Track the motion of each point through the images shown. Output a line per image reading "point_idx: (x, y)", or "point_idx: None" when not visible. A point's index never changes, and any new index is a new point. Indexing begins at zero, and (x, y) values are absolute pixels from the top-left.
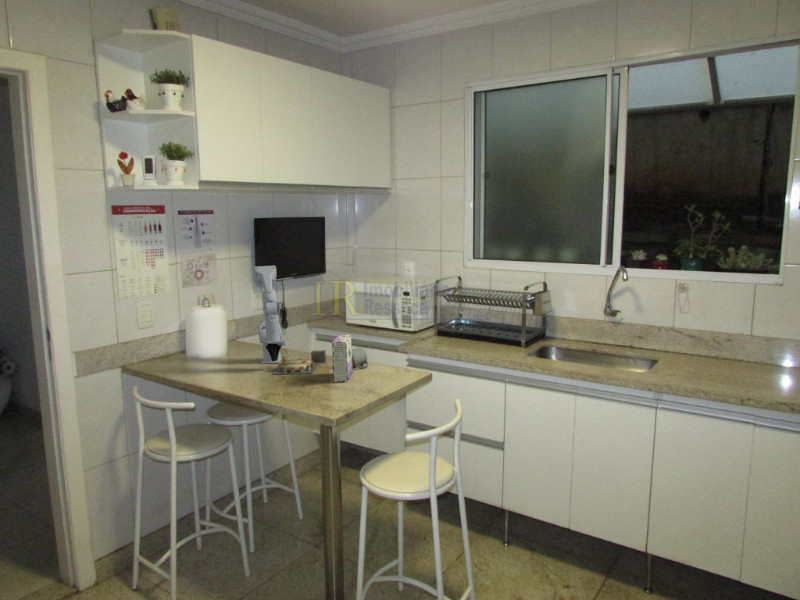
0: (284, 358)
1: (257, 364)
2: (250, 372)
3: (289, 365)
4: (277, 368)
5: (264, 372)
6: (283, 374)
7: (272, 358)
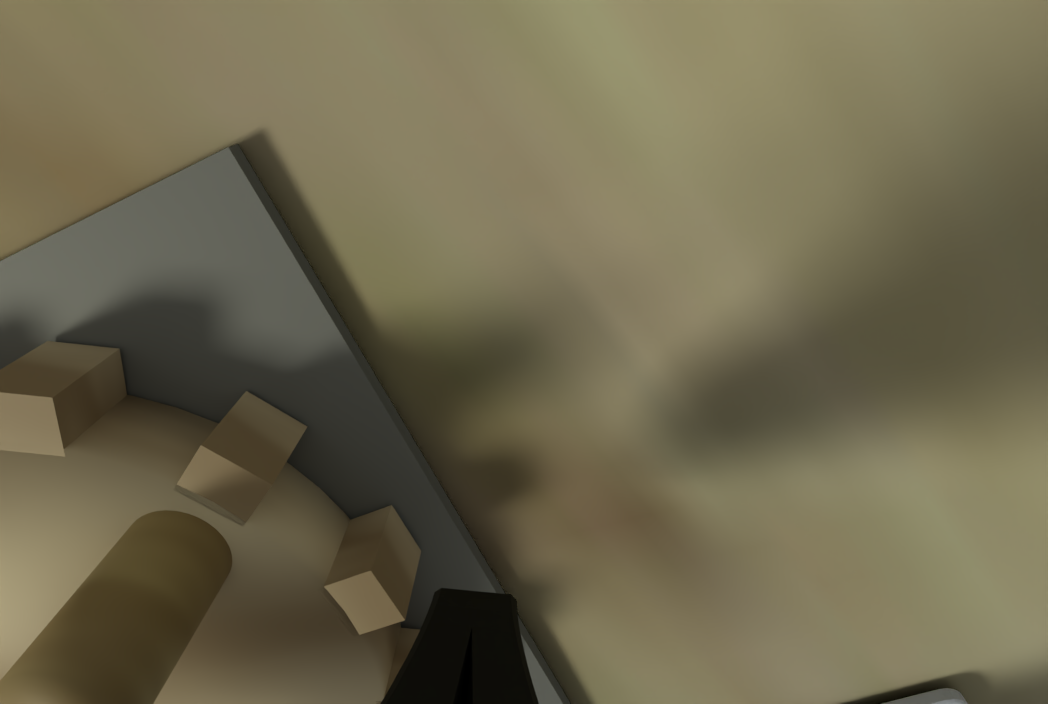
0: (20, 658)
1: (1006, 642)
2: (878, 153)
3: (55, 550)
4: (433, 514)
5: (547, 258)
6: (29, 247)
7: (461, 639)
